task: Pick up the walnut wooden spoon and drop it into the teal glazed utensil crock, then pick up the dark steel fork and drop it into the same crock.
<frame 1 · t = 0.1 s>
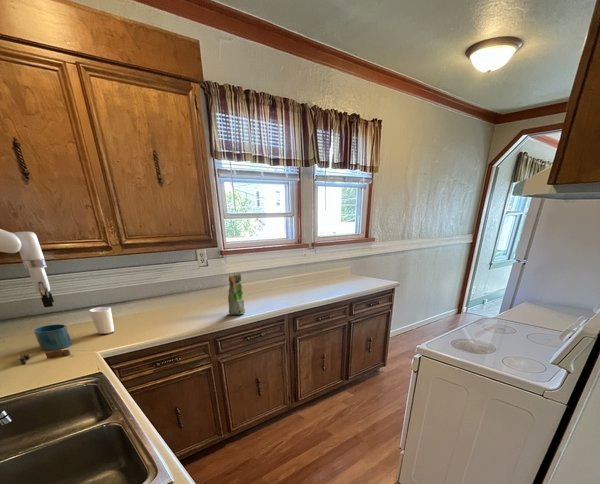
hand: (49, 304, 145), 20 cm above the worktop, tool pointing down, fingers open, 9 cm apart
pouch: (237, 314, 207), on the worktop
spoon: (55, 356, 144), on the worktop
crock: (56, 346, 156), on the worktop
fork: (24, 362, 138), on the worktop
cup: (106, 333, 174), on the worktop
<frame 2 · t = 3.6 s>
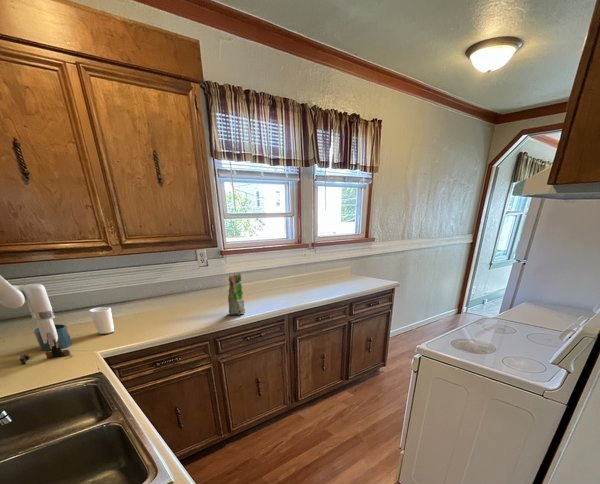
hand: (58, 355, 144), 0 cm above the worktop, tool pointing down, fingers closed on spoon
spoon: (55, 356, 144), on the worktop, touching gripper
everything else where it was.
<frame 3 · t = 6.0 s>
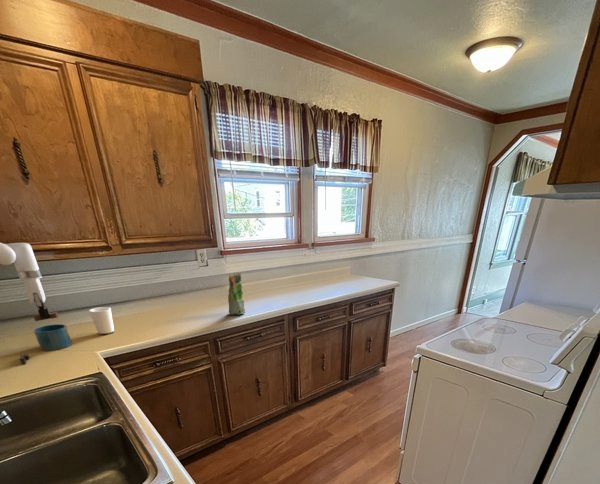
hand: (45, 317, 145), 15 cm above the worktop, tool pointing down, fingers closed on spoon
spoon: (43, 319, 145), point 15 cm above the worktop, touching gripper
everything else where it was.
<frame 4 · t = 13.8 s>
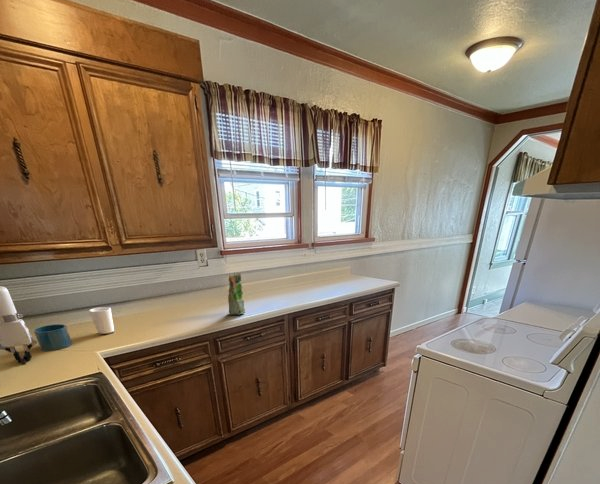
hand: (24, 360, 139), 0 cm above the worktop, tool pointing down, fingers closed on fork, 2 cm apart
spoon: (53, 345, 155), point 1 cm above the worktop, touching crock
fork: (24, 362, 138), on the worktop, touching gripper
everything else where it was.
when the fingers open (8 cm above the worktop, at t = 19.5 s): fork drops 4 cm, resting on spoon.
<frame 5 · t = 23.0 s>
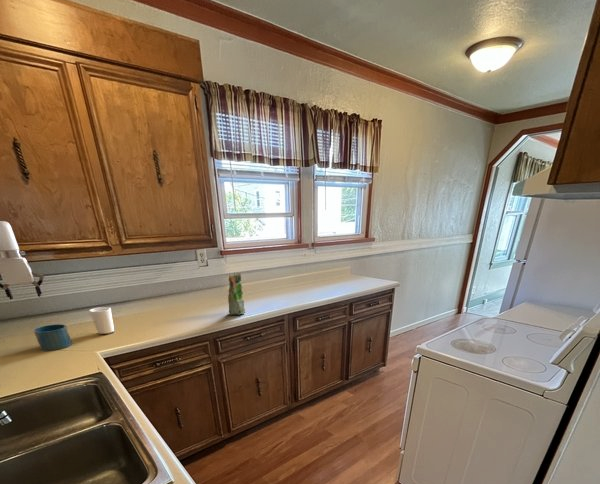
hand: (25, 297, 140), 24 cm above the worktop, tool pointing down, fingers open, 9 cm apart
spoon: (53, 345, 155), point 1 cm above the worktop, touching crock, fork
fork: (54, 340, 153), point 3 cm above the worktop, touching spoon
everything else where it was.
at the end: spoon inside the target area in the crock (1.0 cm from its centre), point 0.8 cm above the crock's base; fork inside the target area in the crock (2.0 cm from its centre), point 3.4 cm above the crock's base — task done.
